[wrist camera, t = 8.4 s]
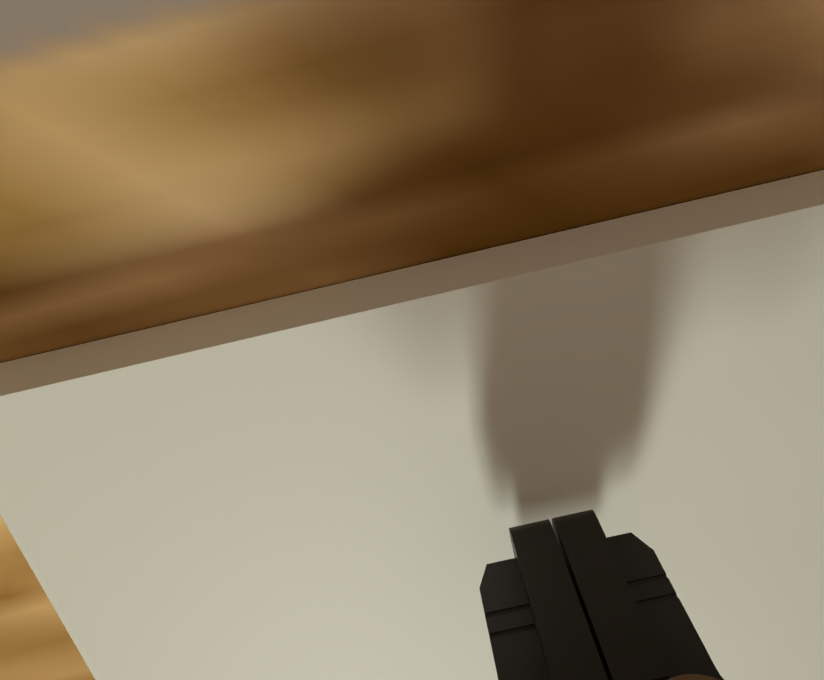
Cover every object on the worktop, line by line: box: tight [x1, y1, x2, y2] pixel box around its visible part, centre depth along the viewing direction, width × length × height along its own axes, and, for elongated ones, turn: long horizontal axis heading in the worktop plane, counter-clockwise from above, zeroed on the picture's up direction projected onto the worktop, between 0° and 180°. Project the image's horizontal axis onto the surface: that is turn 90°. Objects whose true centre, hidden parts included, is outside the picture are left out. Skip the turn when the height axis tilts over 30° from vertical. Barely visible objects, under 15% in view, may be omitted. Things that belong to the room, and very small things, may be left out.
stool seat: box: [0, 170, 824, 680], centre depth 16 cm, size 21×15×2 cm
